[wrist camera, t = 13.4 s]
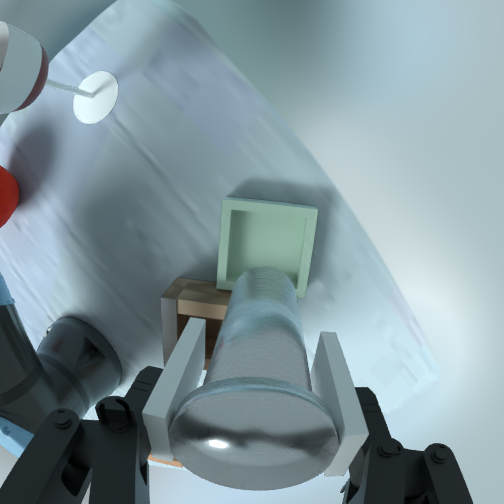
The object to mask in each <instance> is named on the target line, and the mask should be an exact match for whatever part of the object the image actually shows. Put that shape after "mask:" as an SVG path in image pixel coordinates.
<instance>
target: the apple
mask: <svg viewBox="0 0 504 504" xmlns="http://www.w3.org/2000/svg"><path fill="white" fill-rule="evenodd" d="M18 200H19V187H18V182H17V181H16V179H15V178H14V177H13V176H12V175H11V174H10V173H9V172H8V171H7V170H6V169H4V168H3V167H2V166H0V228H1V227H2V226H3V225H4V224H5V223H6V222H7V221H8V219H9V218H10V217H11V215H12V214H13V212H14V211H15V209H16V206H17V204H18Z"/></svg>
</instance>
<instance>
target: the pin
mask: <svg viewBox="0 0 504 504" xmlns="http://www.w3.org/2000/svg"><path fill="white" fill-rule="evenodd" d="M168 438H169V444H170V449H171V451H172V453H173V455H174V456H175V458H176V459H177V460H178V461H179V462H180V463H181V464H182V465H183V466H184V467H185V468H187V469H188V470H189V471H191V472H192V473H194V474H196V475H197V476H199V477H201V478H203V479H205V480H208V481H210V482H213V483H215V484H219V485H222V486H226V487H230V488H235V489H242V490H275V489H282V488H286V487H291V486H294V485H298V484H301V483H303V482H306V481H308V480H310V479H312V478H314V477H316V476H318V475H319V474H321V473H322V472H323V471H325V470H326V469H327V468H328V467H329V466H330V465H331V463H332V462H333V460H334V458H335V456H336V454H337V452H338V449H339V440H338V435H337V430H336V425H335V420H334V417H333V414H332V411H331V410H330V408H329V406H328V405H327V404H326V403H325V402H324V401H323V400H322V399H321V398H320V397H319V396H317V395H316V394H314V393H313V392H312V386H311V379H310V373H309V367H308V361H307V355H306V348H305V343H304V337H303V331H302V325H301V319H300V314H299V308H298V303H297V297H296V292H295V287H294V285H293V283H292V281H291V280H290V278H289V277H288V276H287V275H286V274H285V273H283V272H282V271H280V270H278V269H276V268H272V267H266V266H261V267H255V268H252V269H249V270H247V271H246V272H244V273H243V274H242V275H241V276H240V277H239V278H238V279H237V281H236V282H235V284H234V287H233V290H232V293H231V296H230V300H229V303H228V306H227V309H226V312H225V315H224V319H223V322H222V325H221V328H220V331H219V335H218V338H217V341H216V344H215V347H214V351H213V354H212V357H211V360H210V364H209V367H208V370H207V373H206V376H205V380H204V383H203V386H201V387H199V388H196V389H195V390H193V391H192V392H190V393H189V394H188V395H187V396H186V397H185V398H184V399H183V400H182V401H181V403H180V404H179V406H178V408H177V410H176V413H175V416H174V418H173V421H172V424H171V426H170V429H169V433H168Z"/></svg>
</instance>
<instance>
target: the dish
mask: <svg viewBox="0 0 504 504" xmlns="http://www.w3.org/2000/svg"><path fill="white" fill-rule="evenodd" d="M317 216H318V209H317V208H316V207H315V206H309V205H301V204H292V203H284V202H275V201H265V200H256V199H246V198H235V197H225V198H224V199H222V211H221V224H220V238H219V253H218V269H217V286H216V289H224V290H233V287H234V284H235V282H236V281H237V279H238V278H239V277H240V276H241V275H242V274H243V273H244V272H246V271H247V270H249V269H252V268H255V267H261V266H266V267H272V268H276V269H278V270H280V271H282V272H283V273H285V274H286V275H287V276H288V277H289V278H290V280H291V281H292V283H293V285H294V287H295V292H296V297H299V298H305V294H306V288H307V282H308V276H309V270H310V264H311V257H312V251H313V244H314V237H315V230H316V223H317Z"/></svg>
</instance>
